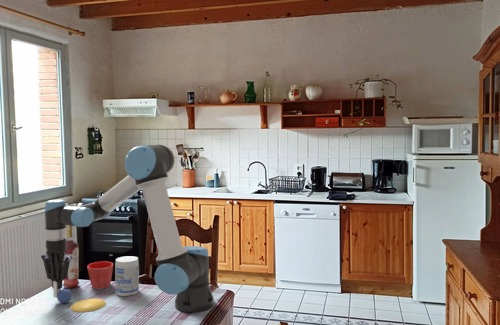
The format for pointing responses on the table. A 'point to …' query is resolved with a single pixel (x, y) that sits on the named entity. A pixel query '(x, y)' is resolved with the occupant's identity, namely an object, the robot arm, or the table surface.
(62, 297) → the ball
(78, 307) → the disc
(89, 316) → the table surface
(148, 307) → the table surface
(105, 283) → the flower pot
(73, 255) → the liquor
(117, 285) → the supplement tub
